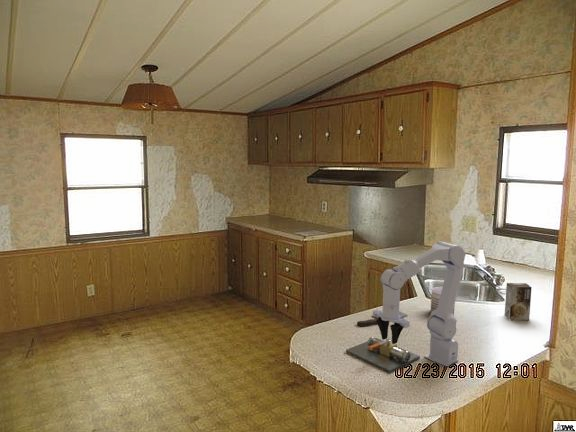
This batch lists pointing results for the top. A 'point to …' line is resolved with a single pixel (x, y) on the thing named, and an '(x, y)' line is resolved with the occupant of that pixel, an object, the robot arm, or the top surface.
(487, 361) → the top surface
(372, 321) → the cleaver
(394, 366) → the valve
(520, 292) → the coffee box
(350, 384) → the top surface
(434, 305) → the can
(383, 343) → the lever
